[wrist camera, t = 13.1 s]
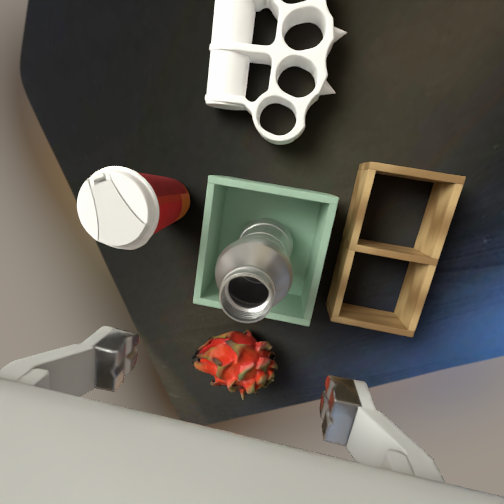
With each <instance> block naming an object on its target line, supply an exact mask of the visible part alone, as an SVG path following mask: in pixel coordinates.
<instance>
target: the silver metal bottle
mask: <svg viewBox="0 0 504 504" xmlns="http://www.w3.org/2000/svg"><path fill="white" fill-rule="evenodd" d="M292 250H293V239H292V236H291V234H290V232H289V230H288V229H287V228H286V227H285V226H284V225H283V224H282V223H280V222H278V221H276V220H274V219H270V218H261V219H256V220H253V221H252V222H250V223H248V224H247V225H246V226H245V227H244V228H243V230H242V231H241V233H240V235H239V239H238V240H236V241H234V242H233V243H231V244H229V245H228V246H227V247H226V248H225V249H224V250H223V251H222V252H221V254H220V255H219V257H218V259H217V262H216V266H215V278H216V283H217V287H218V289H219V302H220V305H221V308H222V309H223V311H224V312H225V313H226V314H227V315H228V316H229V317H230V318H232V319H233V320H235V321H238V322H241V323H254V322H257V321H260V320H262V319H263V318H264V317H266V316H267V315H268V313H269V312H270V310H271V308H272V307H273V306H275V305H276V304H278V303H279V302H280V301H281V300H283V298H284V297H285V296H286V295H287V294H288V292H289V290H290V288H291V285H292V282H293V270H292V265H291V262H290V259H289V257H290V255H291V253H292Z"/></svg>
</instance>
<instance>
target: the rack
mask: <svg viewBox="0 0 504 504" xmlns="http://www.w3.org/2000/svg"><path fill="white" fill-rule="evenodd" d="M358 170H359V171H358V173H357V178H356V182H355V186H354V190H353V194H352V198H351V202H350V206H349V211H348V215H347V219H346V223H345V227H344V231H343V236H342V240H341V244H340V248H339V252H338V256H337V260H336V264H335V269H334V273H333V277H332V281H331V285H330V289H329V293H328V297H327V302H326V307H327V310H328V314H329V317H330V320H331V321H333V322H338V323H343V324H348V325H353V326H358V327H363V328H368V329H373V330H378V331H383V332H388V333H393V334H398V335H403V336H408V337H413V335H414V331H415V329H416V326H417V323H418V320H419V317H420V314H421V311H422V308H423V305H424V302H425V299H426V296H427V293H428V290H429V287H430V284H431V281H432V278H433V275H434V272H435V269H436V266H437V263H438V259H439V257H440V254H441V251H442V248H443V245H444V242H445V239H446V235H447V232H448V229H449V226H450V223H451V220H452V217H453V214H454V211H455V208H456V205H457V202H458V199H459V196H460V193H461V190H462V187H463V184H464V181H465V178H466V177H464V176H458V175H451V174H445V173H439V172H433V171H426V170H420V169H414V168H408V167H402V166H395V165H389V164H383V163H377V162H366V163H362V164H360V165H359V169H358ZM375 173H377V174H383V175H389V176H395V177H402V178H408V179H414V180H420V181H426V182H432V183H434V184H433V187H432V190H431V194H430V197H429V200H428V203H427V207H426V210H425V213H424V217H423V220H422V223H421V226H420V230H419V233H418V236H417V239H416V243H415V246H414V248H409V247H404V246H398V245H392V244H387V243H381V242H376V241H370V240H364V239H359V235H360V231H361V227H362V223H363V219H364V216H365V212H366V208H367V204H368V200H369V196H370V192H371V188H372V184H373V181H374V177H375ZM355 251H356V252H361V253H367V254H372V255H378V256H383V257H389V258H394V259H400V260H405V261H410V262H409V265H408V269H407V272H406V275H405V279H404V282H403V285H402V288H401V292H400V295H399V298H398V301H397V305H396V308H395V311H394V313H393V312H387V311H382V310H377V309H372V308H367V307H362V306H357V305H352V304H346V303H342V301H343V297H344V293H345V289H346V286H347V282H348V278H349V274H350V270H351V266H352V262H353V258H354V254H355Z"/></svg>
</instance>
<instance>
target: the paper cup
mask: <svg viewBox="0 0 504 504" xmlns="http://www.w3.org/2000/svg"><path fill="white" fill-rule="evenodd" d="M189 206H190V196H189V193H188V190H187V189H186V187H185V186H184V185H183V184H182V183H181V182H179V181H177V180H175V179H172V178H167V177H162V176H156V175H149V174H144V173H137V172H135V171H133V170H131V169H129V168H125V167H120V166H111V167H106V168H103V169H101V170H99V171H97V172H95V173H94V174H93V175H92V176H91V177H90V178H89V179H87V180H86V181H85V182H84V184H83V185H82V187H81V189H80V191H79V194H78V198H77V210H78V215H79V218H80V221H81V223H82V225H83V227H84V228H85V230H86V231H87V232H88V233H89V234H90V235H91V236H92V237H93V238H94V239H95V240H97V241H99V242H102V243H104V244H106V245H109V246H111V247H114V248H119V249H127V250H132V249H136V248H139V247H141V246H143V245H144V244H146V243H147V241H148V240H149V239H150V237H151V236H152V235H153V234H154V233H156V232H158V231H160V230H162V229H163V228H165V227H167V226H169V225H170V224H172V223H174V222H175V221H177V220H179V219H180V218H182V217H183V216H184V215H185V214H186V212H187V211H188V209H189Z"/></svg>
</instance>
